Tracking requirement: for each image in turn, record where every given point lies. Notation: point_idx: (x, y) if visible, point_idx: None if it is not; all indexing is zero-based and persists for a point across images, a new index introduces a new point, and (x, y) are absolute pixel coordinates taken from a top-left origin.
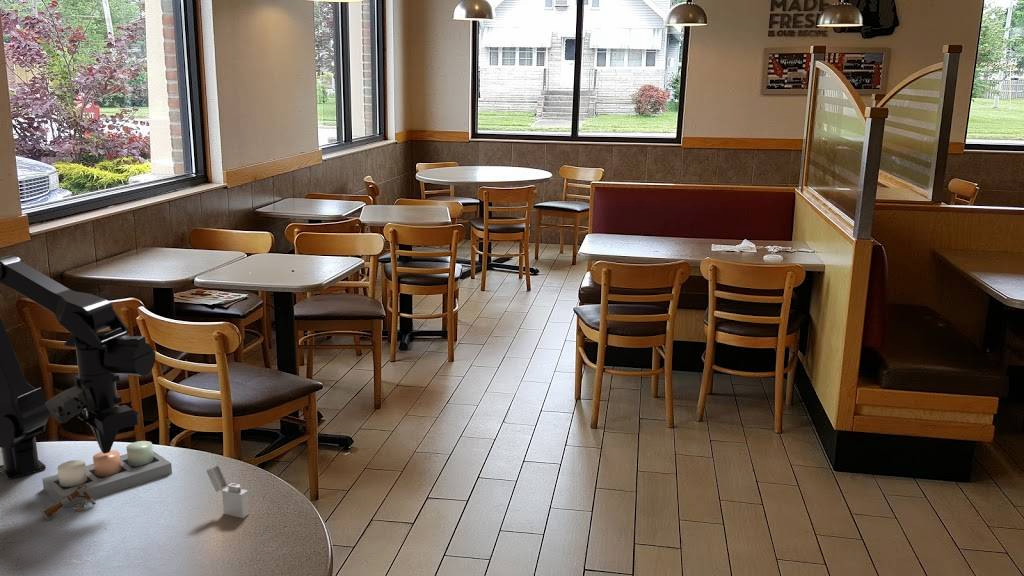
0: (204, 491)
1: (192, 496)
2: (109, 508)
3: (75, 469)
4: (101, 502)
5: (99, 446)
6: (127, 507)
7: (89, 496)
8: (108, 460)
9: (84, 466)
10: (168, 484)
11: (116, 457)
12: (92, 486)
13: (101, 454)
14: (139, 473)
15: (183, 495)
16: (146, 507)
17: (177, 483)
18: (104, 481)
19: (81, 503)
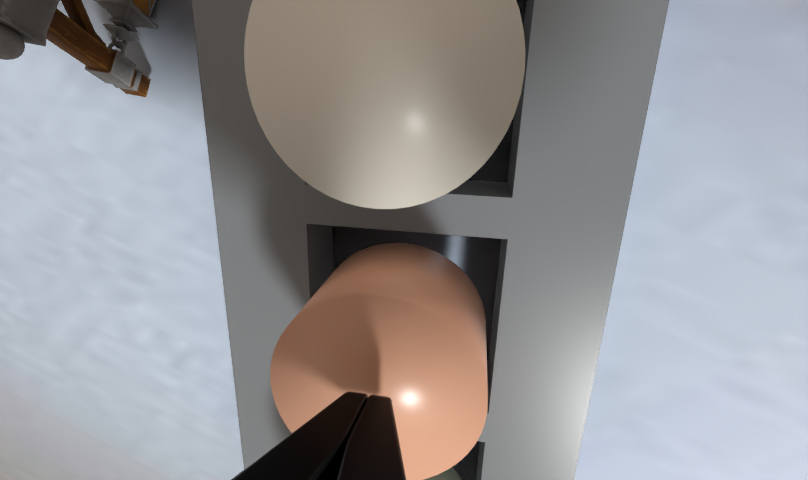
0: (37, 465)
1: (18, 419)
2: (80, 135)
3: (246, 59)
4: (172, 136)
5: (388, 433)
6: (47, 202)
7: (74, 56)
8: (276, 357)
9: (296, 167)
10: (177, 429)
11: (285, 418)
12: (222, 141)
13: (427, 382)
14: (237, 405)
15: (43, 406)
16: (6, 259)
17: (164, 453)
18: (249, 229)
19: (111, 6)
